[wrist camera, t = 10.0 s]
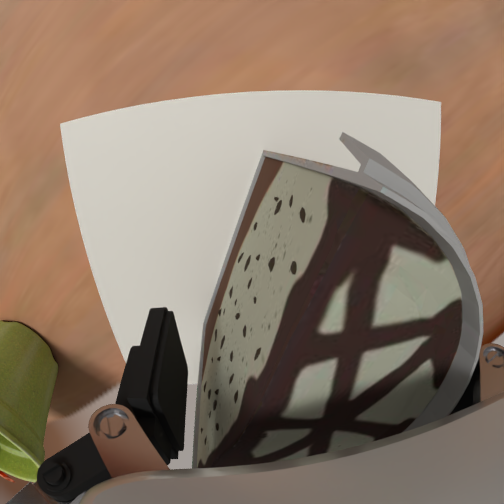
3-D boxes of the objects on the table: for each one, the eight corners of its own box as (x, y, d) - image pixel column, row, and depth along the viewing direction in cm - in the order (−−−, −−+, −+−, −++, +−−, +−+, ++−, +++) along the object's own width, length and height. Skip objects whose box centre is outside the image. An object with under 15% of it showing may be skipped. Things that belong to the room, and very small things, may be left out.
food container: (296, 362, 18) (335, 515, 9) (196, 343, 17) (187, 515, 8) (394, 168, 14) (564, 267, 5) (275, 117, 12) (398, 147, 3)
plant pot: (59, 407, 21) (33, 490, 13) (-28, 345, 17) (-72, 418, 10) (98, 355, 18) (63, 467, 11) (-13, 272, 15) (-87, 359, 7)
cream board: (429, 101, 13) (440, 102, 12) (397, 343, 20) (402, 352, 19) (69, 122, 12) (60, 123, 11) (138, 374, 19) (135, 385, 18)
